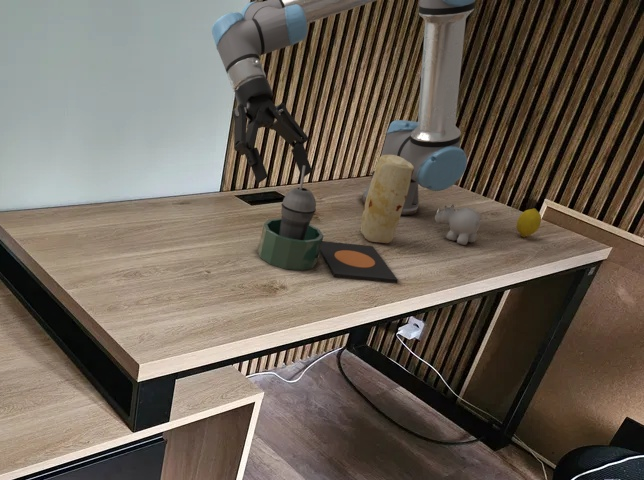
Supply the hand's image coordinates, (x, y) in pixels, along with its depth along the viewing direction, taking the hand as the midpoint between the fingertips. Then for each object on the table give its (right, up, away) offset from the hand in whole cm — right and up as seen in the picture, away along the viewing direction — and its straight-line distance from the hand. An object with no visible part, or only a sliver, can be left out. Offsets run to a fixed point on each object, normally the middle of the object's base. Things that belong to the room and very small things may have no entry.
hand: (285, 177), depth 145 cm
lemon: (+70, -6, +39) cm, 80 cm away
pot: (+1, -16, +5) cm, 17 cm away
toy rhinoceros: (+47, -8, +31) cm, 57 cm away
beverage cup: (+1, -16, +5) cm, 17 cm away
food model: (+25, -10, +23) cm, 35 cm away
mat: (+16, -17, +8) cm, 25 cm away
